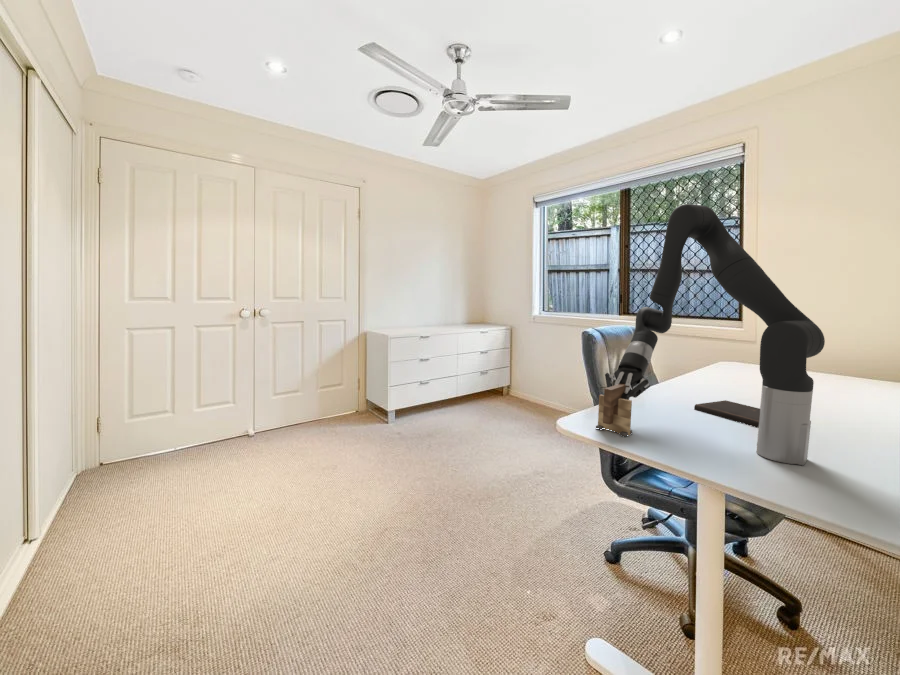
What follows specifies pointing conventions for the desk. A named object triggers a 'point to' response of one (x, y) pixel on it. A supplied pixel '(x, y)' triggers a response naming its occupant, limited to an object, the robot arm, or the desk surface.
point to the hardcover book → (731, 411)
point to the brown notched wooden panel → (612, 402)
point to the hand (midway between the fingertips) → (615, 405)
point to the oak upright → (617, 417)
